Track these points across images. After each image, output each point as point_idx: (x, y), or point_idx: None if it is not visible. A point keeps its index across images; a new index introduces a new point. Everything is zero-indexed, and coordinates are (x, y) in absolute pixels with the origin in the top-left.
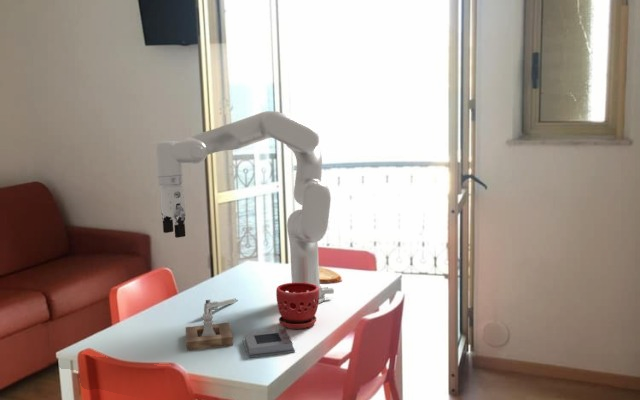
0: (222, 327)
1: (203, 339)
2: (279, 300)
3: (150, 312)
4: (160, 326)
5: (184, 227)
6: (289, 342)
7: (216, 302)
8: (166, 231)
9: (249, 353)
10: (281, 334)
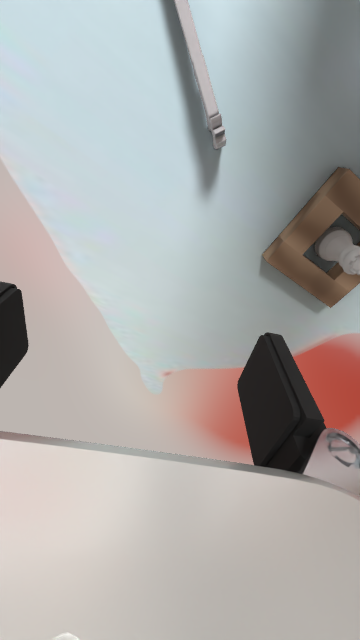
0: (354, 207)
1: (355, 281)
2: None
3: (53, 212)
4: (168, 256)
5: (304, 389)
6: None
7: (206, 69)
8: (23, 342)
9: None
10: None
